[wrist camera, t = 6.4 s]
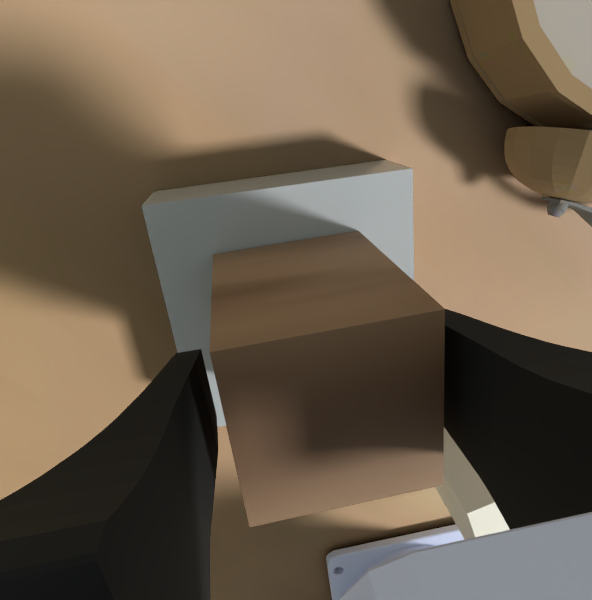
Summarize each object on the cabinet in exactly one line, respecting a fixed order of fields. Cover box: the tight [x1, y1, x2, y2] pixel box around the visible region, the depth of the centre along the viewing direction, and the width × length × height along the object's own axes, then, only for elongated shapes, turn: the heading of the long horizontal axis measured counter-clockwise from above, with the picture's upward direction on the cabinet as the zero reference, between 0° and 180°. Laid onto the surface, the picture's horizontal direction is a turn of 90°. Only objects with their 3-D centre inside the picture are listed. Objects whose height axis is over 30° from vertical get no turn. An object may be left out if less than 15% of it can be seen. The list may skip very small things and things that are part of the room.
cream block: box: [436, 427, 510, 540], centre depth 18 cm, size 4×4×6 cm
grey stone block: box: [142, 160, 414, 427], centre depth 16 cm, size 8×8×3 cm
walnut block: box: [210, 231, 445, 527], centre depth 12 cm, size 4×4×6 cm
